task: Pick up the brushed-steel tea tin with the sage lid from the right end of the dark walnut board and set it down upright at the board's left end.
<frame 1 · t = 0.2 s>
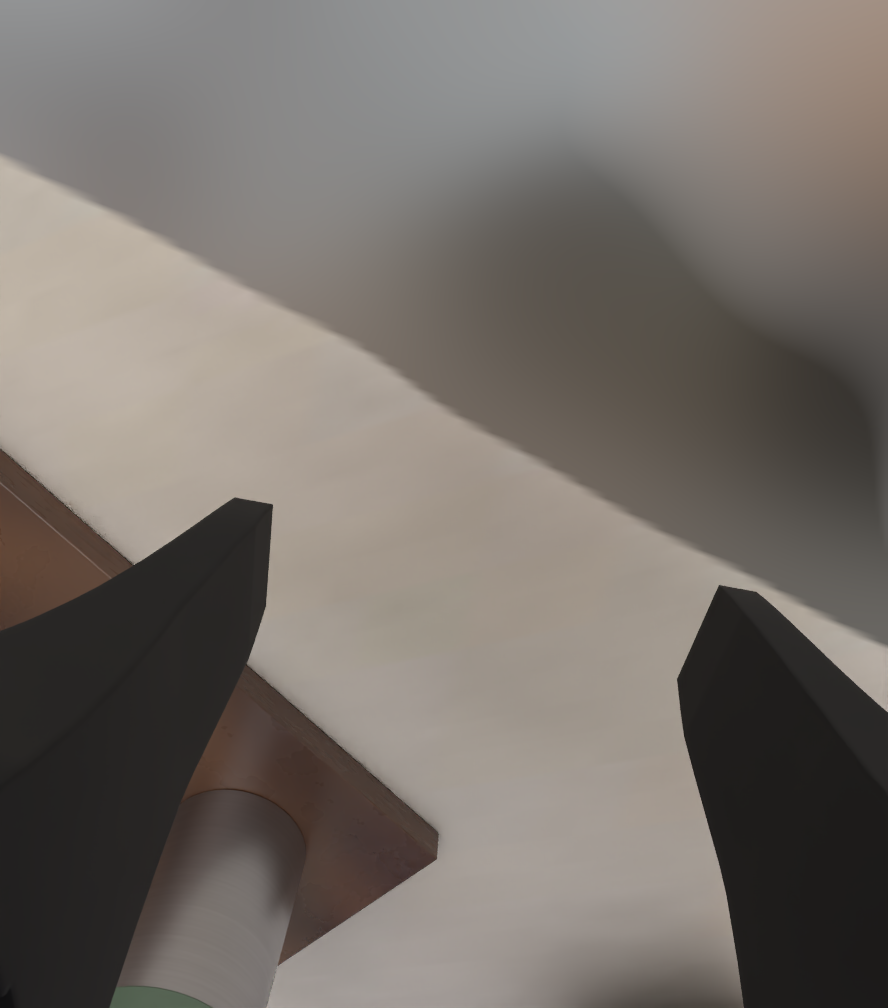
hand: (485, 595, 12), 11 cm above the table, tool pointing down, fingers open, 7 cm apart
board: (93, 697, 26), on the table
tin: (235, 845, 27), point 1 cm above the table, touching board
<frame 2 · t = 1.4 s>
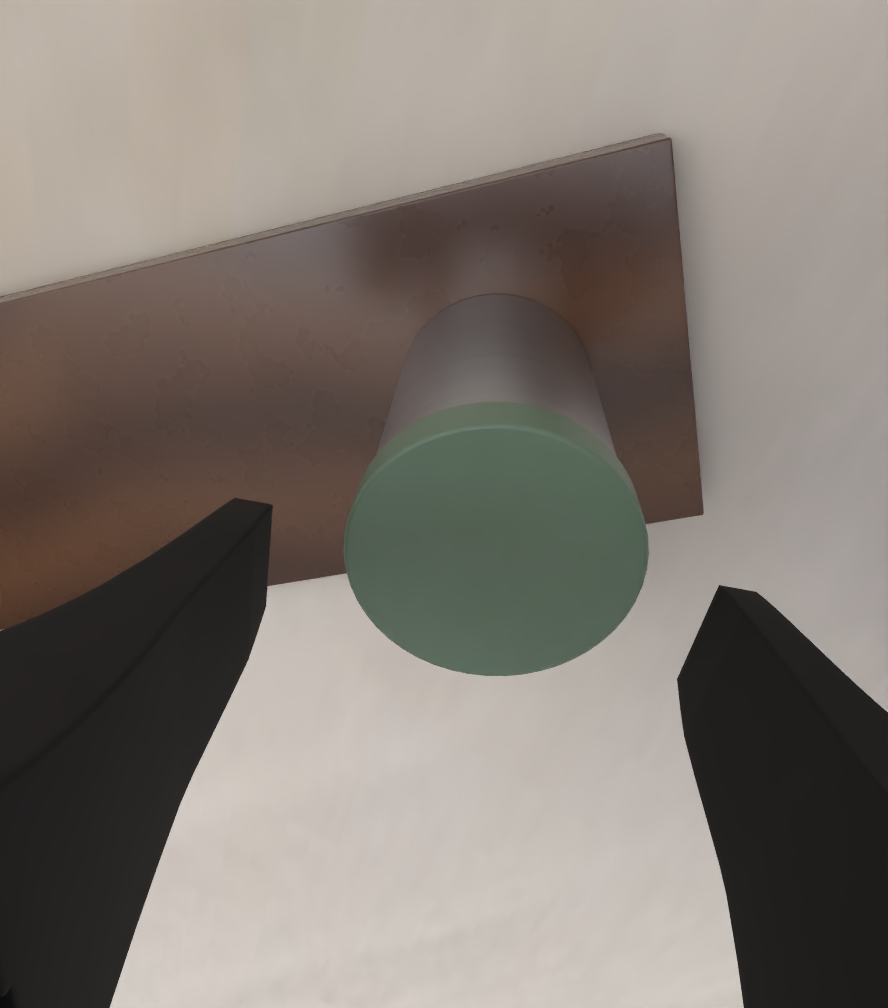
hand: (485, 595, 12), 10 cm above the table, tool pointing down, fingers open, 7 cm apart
board: (261, 419, 23), on the table
tin: (495, 388, 20), point 1 cm above the table, touching board
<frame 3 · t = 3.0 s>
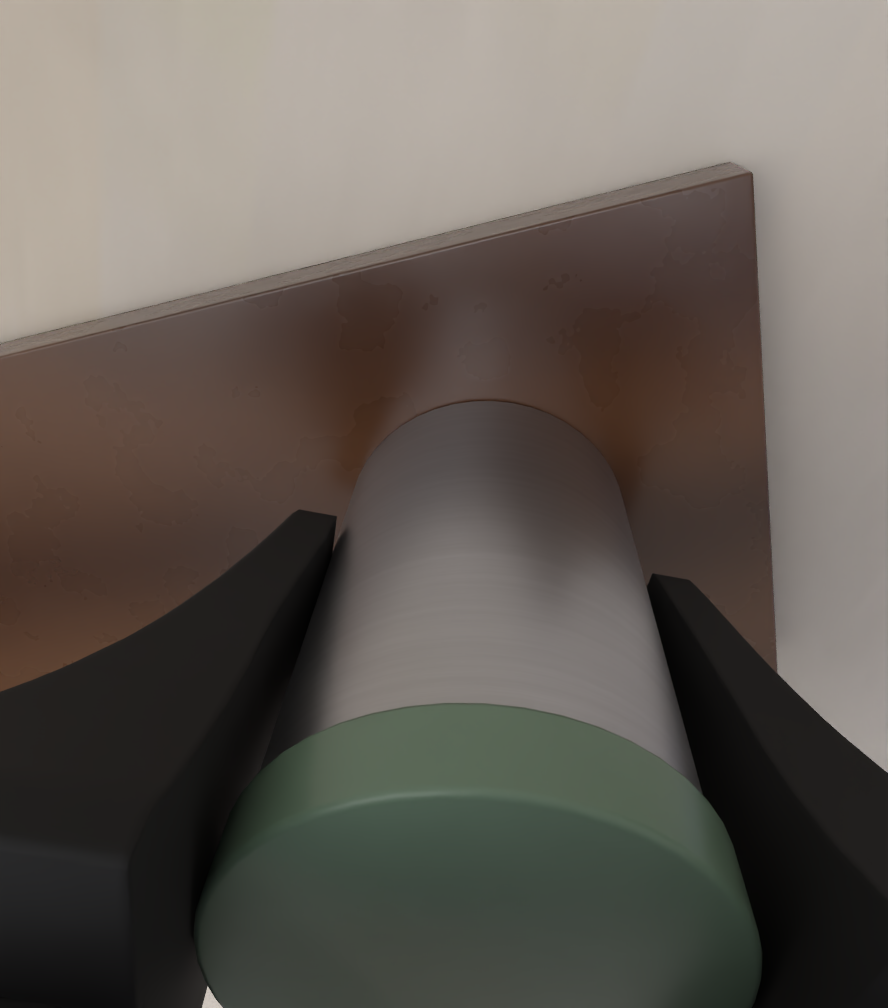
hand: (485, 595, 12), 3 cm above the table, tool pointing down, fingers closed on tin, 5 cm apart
board: (165, 553, 16), on the table
tin: (485, 525, 14), point 1 cm above the table, touching board, gripper
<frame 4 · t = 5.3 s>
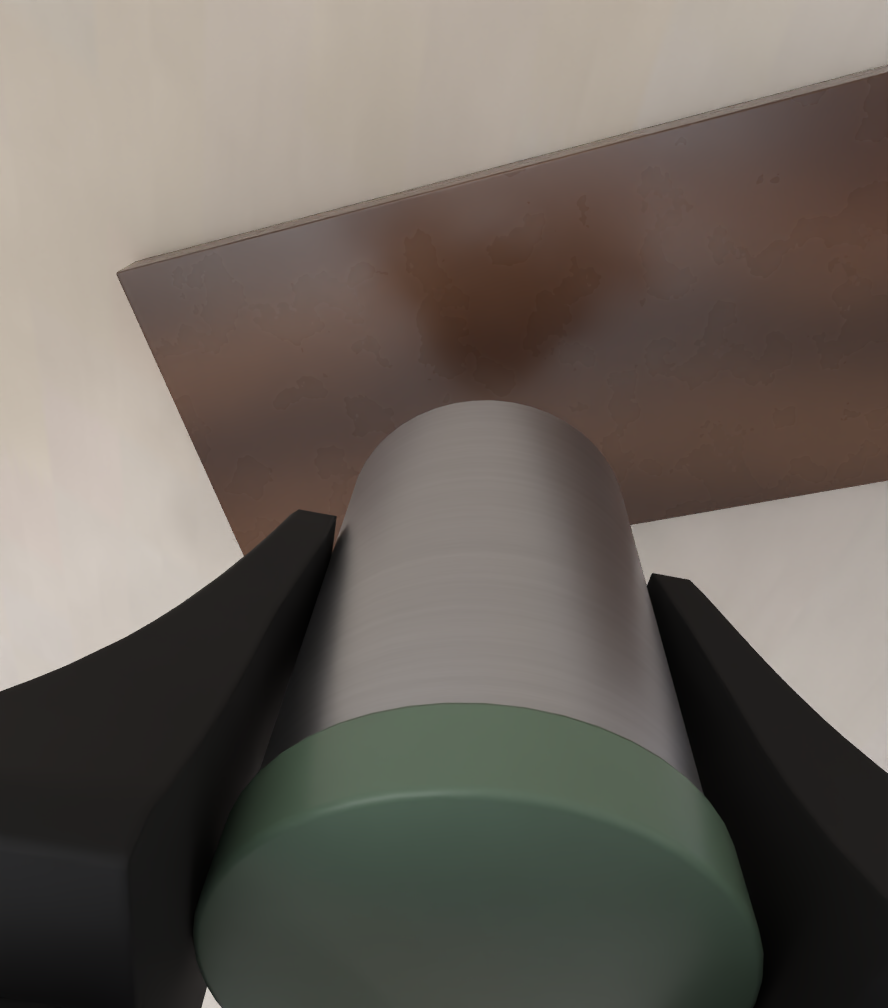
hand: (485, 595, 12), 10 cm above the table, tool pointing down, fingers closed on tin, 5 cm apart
board: (620, 342, 21), on the table
tin: (485, 525, 14), point 8 cm above the table, touching gripper
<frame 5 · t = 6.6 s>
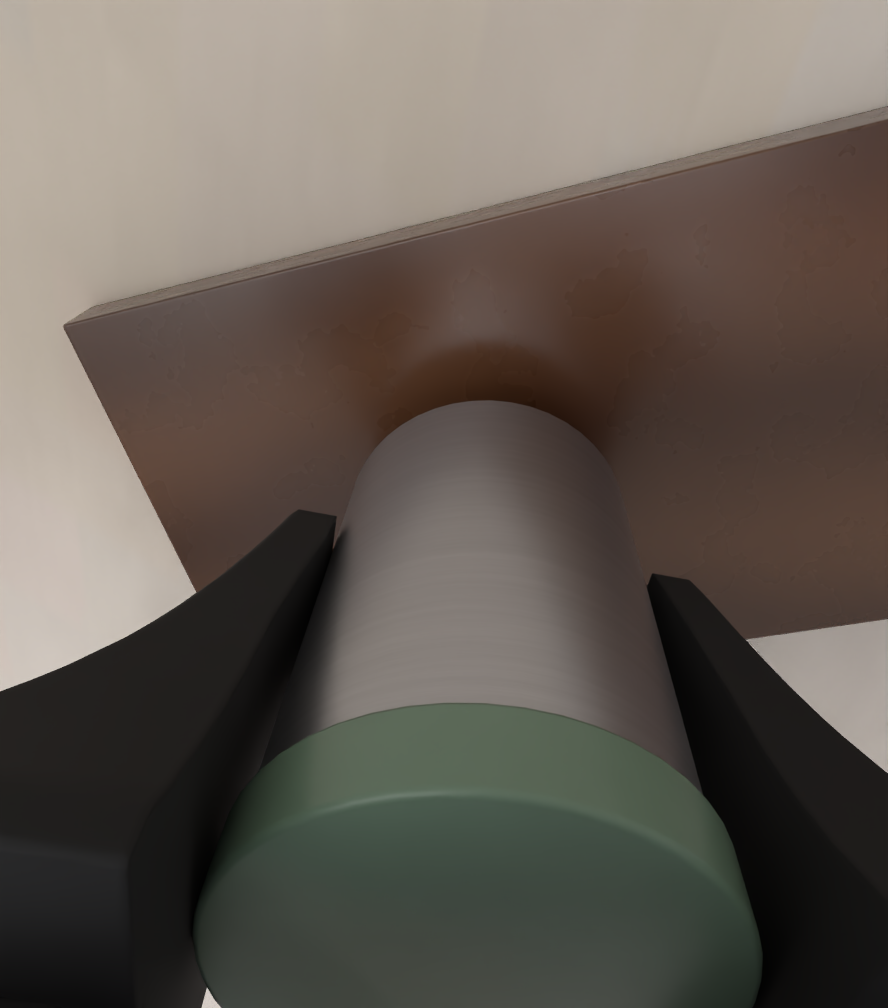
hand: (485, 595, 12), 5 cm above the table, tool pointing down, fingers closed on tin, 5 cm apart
board: (729, 412, 16), on the table
tin: (485, 525, 14), point 3 cm above the table, touching gripper
when the fingers open (3 cm above the table, at t = 7.6 s): tin stays where it is, resting on board.
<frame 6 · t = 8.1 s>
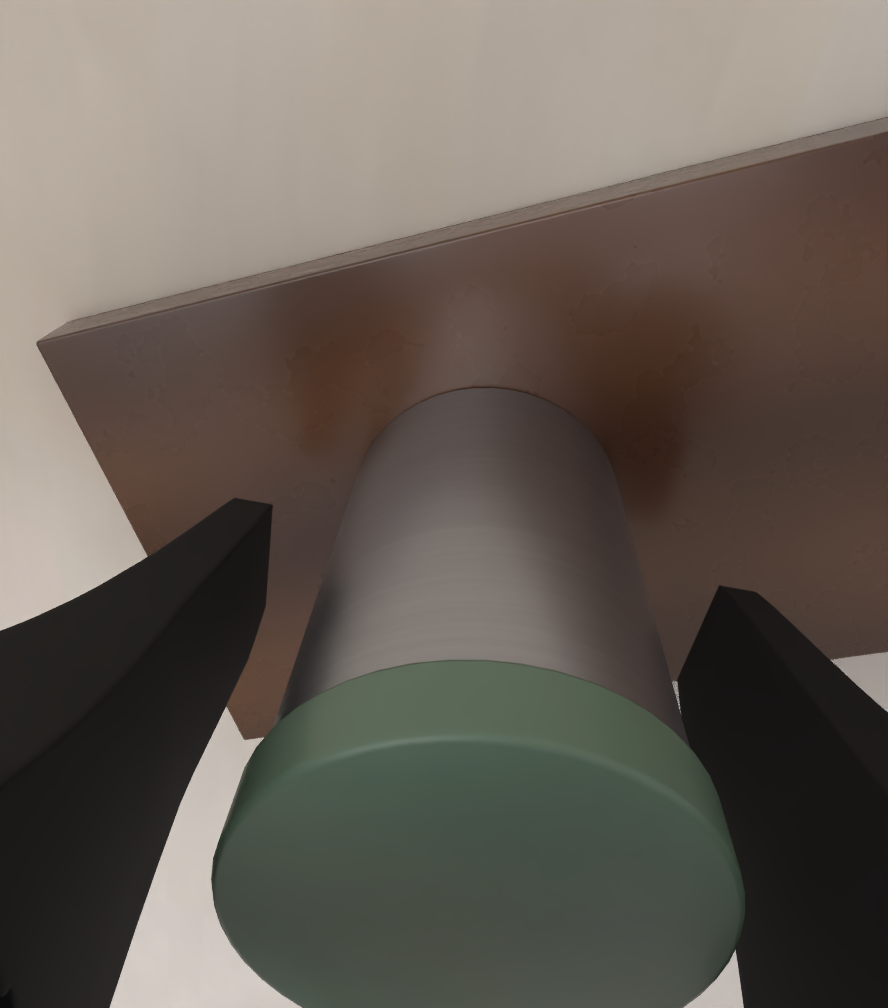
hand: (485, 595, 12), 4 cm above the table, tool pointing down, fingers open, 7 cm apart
board: (742, 432, 15), on the table
tin: (484, 510, 15), point 1 cm above the table, touching board
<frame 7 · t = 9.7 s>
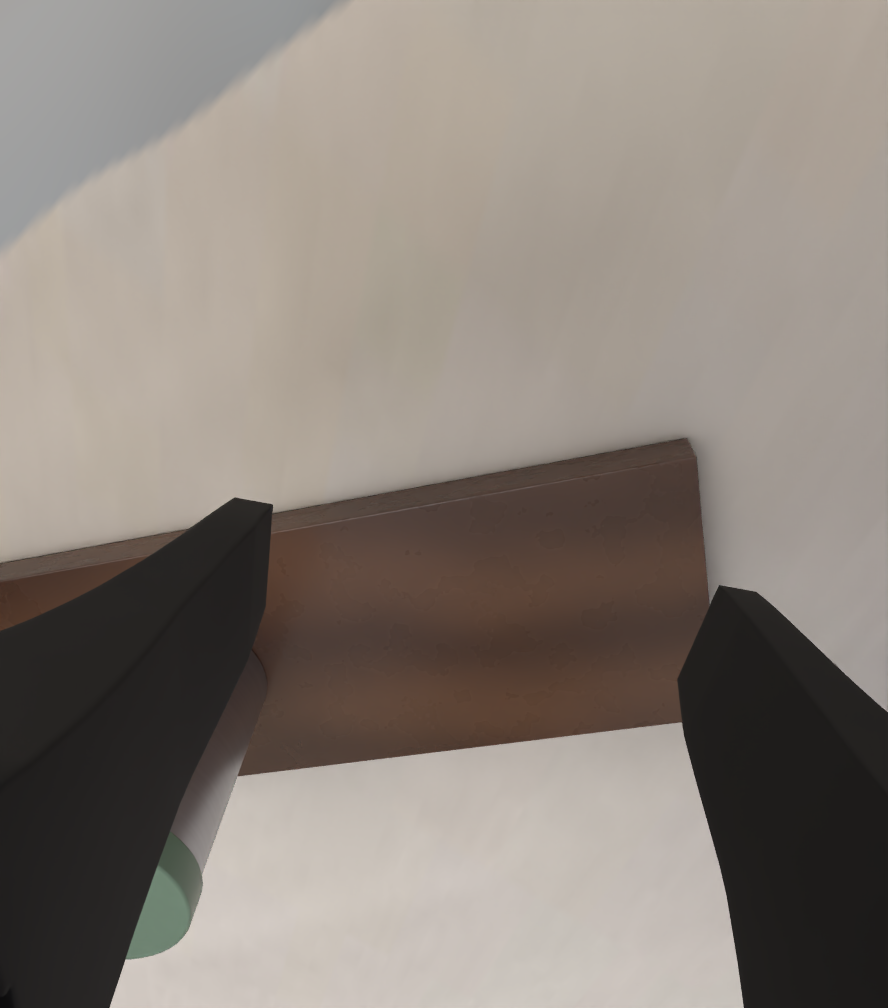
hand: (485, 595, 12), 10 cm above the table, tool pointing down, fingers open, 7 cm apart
board: (341, 632, 26), on the table
tin: (194, 675, 26), point 1 cm above the table, touching board
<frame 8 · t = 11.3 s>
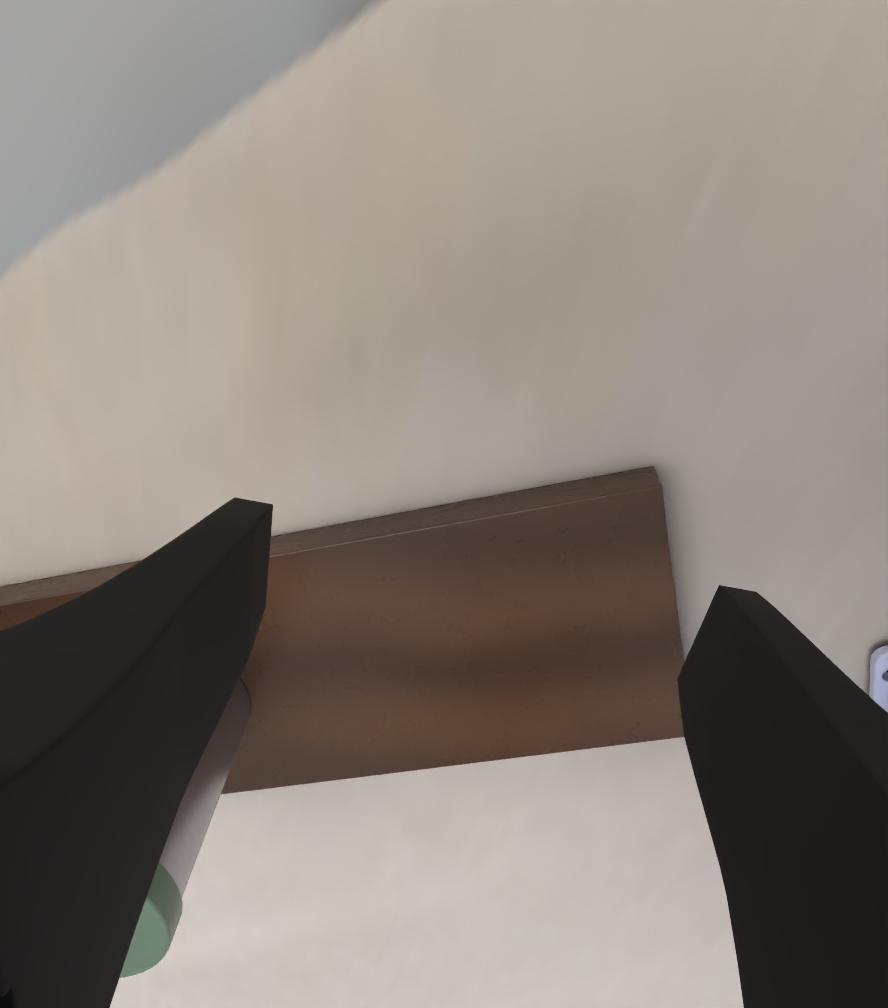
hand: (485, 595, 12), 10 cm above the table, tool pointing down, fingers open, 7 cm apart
board: (322, 653, 27), on the table
tin: (179, 697, 27), point 1 cm above the table, touching board
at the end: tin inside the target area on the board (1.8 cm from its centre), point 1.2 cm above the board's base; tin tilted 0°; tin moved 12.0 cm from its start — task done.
